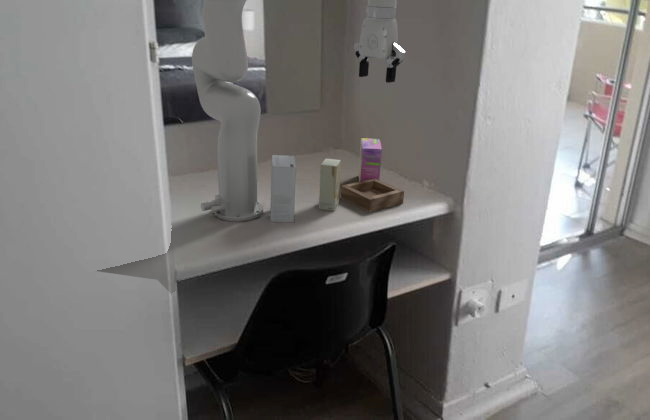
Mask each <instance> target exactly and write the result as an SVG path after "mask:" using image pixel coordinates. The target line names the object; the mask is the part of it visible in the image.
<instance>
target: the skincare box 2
mask: <svg viewBox="0 0 650 420" xmlns="http://www.w3.org/2000/svg"><path fill="white" fill-rule="evenodd" d="M341 163H342V161H341V159H335V158H334V159H333V158H324V160H323V161H322V163H321V164H320V171H319V172H320V173H319V174H320V176H319V198H318V199H319V202H318V209H319V210H323V211H324V210H325V211H331V212H335V211H336V209H337V208H338V205H339V203H340V202H339V201H340V183H341V166H342V165H341Z"/></svg>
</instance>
